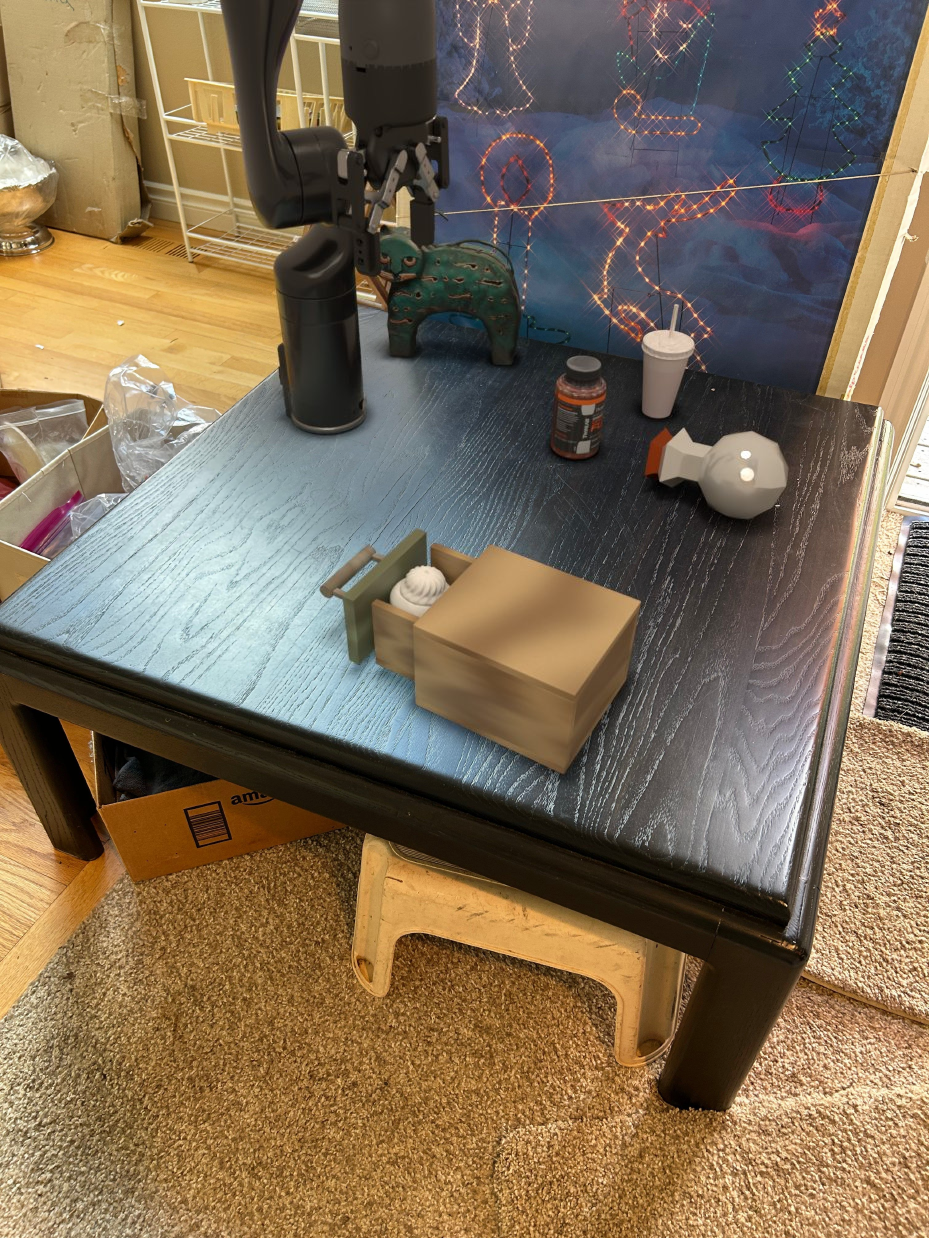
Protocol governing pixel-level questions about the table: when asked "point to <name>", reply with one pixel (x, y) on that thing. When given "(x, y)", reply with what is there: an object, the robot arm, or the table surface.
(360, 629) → the drawer
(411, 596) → the muffin
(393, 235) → the ceramic cat
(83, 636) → the table surface
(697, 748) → the table surface
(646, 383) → the smoothie
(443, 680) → the cabinet
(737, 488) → the potion bottle
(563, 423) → the supplement bottle
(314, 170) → the robot arm
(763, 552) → the table surface
